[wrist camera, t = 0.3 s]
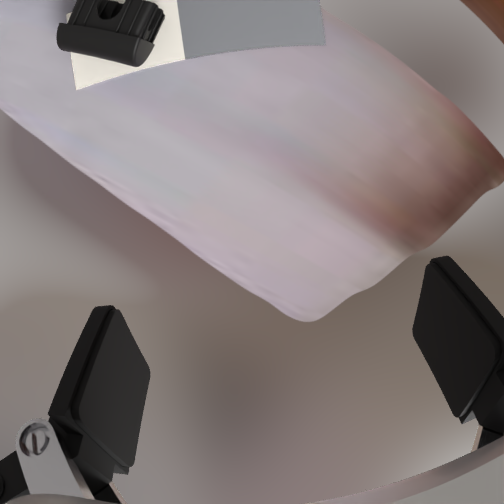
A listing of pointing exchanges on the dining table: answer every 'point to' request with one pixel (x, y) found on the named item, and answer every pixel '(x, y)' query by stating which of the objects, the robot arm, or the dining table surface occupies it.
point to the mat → (248, 25)
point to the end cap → (112, 30)
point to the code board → (163, 52)
